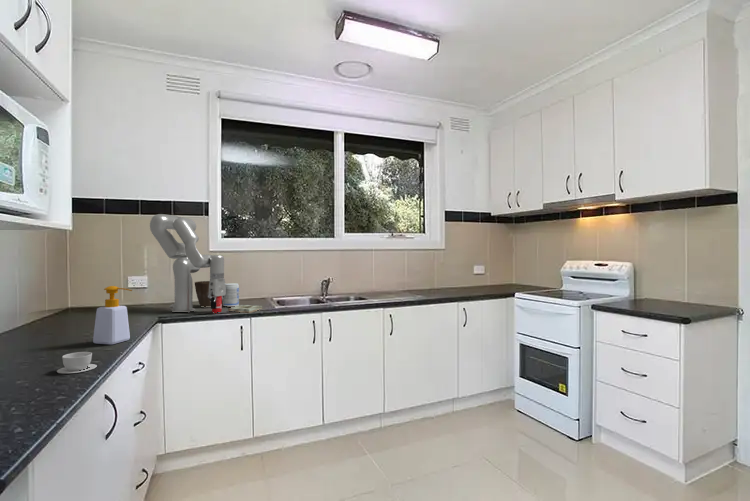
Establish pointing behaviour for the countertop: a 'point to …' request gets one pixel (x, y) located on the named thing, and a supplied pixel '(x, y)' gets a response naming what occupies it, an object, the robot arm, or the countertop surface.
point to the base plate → (245, 308)
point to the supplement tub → (231, 295)
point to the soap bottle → (111, 321)
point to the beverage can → (218, 304)
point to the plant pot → (203, 293)
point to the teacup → (77, 362)
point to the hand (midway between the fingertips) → (216, 307)
